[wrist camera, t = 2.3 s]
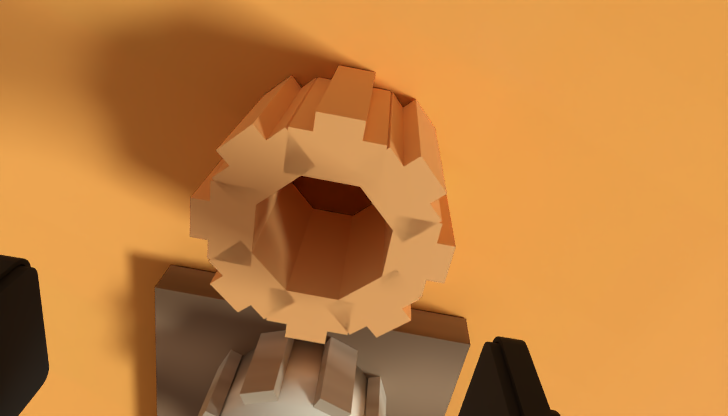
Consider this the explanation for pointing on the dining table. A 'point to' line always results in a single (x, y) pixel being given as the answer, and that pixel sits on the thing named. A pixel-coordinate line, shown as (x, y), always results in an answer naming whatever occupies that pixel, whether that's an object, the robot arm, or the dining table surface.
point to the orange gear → (323, 228)
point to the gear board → (224, 327)
